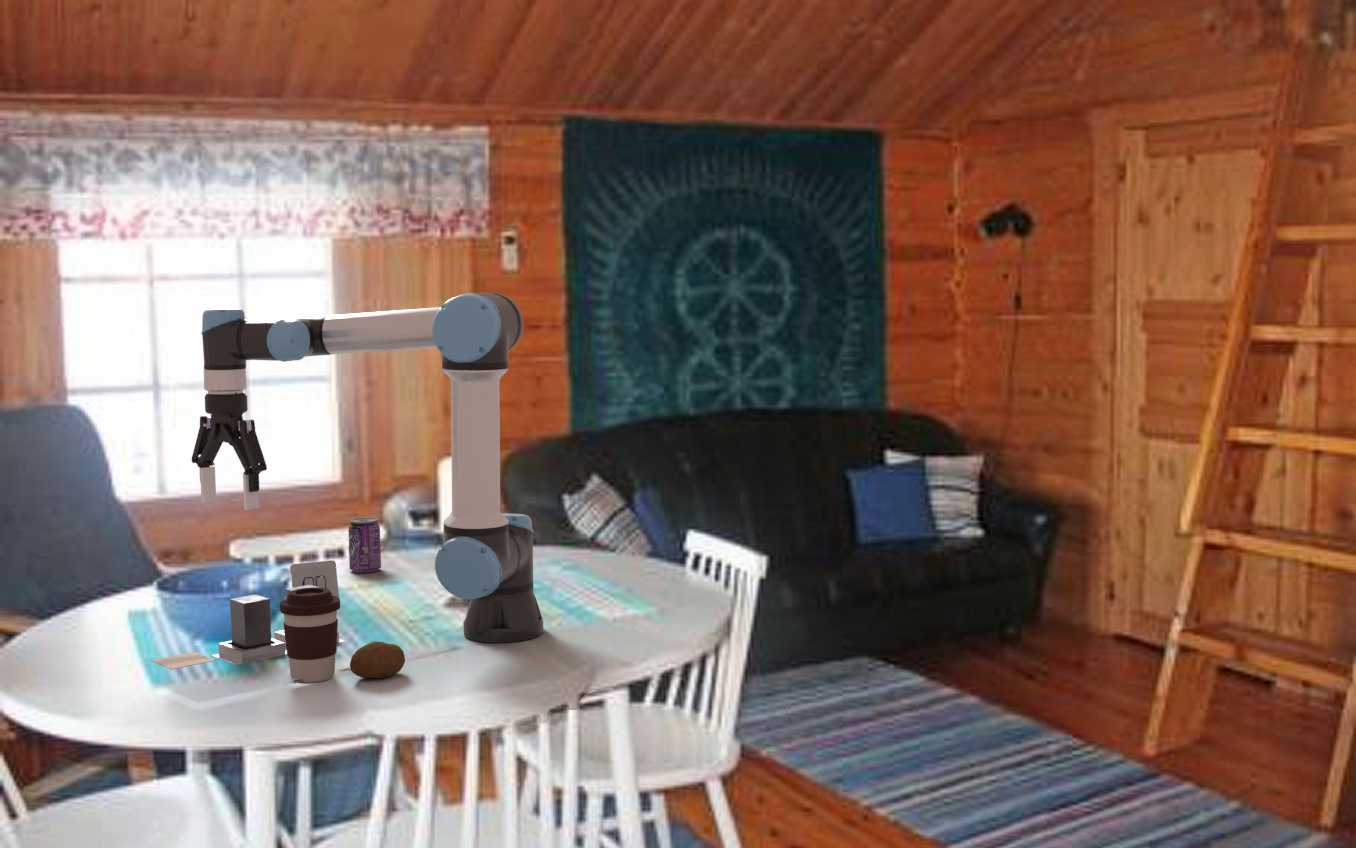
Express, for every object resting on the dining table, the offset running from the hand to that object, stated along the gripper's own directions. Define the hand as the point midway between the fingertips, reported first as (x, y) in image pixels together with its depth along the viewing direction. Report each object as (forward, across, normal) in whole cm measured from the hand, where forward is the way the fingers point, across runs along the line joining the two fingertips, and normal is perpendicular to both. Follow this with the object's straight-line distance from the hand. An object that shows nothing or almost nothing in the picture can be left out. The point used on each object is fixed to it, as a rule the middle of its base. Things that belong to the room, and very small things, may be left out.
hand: (229, 505), depth 266 cm
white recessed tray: (+25, -16, +1) cm, 30 cm away
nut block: (+24, -15, +7) cm, 29 cm away
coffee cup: (+26, -33, +7) cm, 42 cm away
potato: (+26, -42, 0) cm, 49 cm away
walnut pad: (+26, -9, +16) cm, 32 cm away
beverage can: (+26, +28, -54) cm, 66 cm away
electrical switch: (+26, +10, -26) cm, 38 cm away
